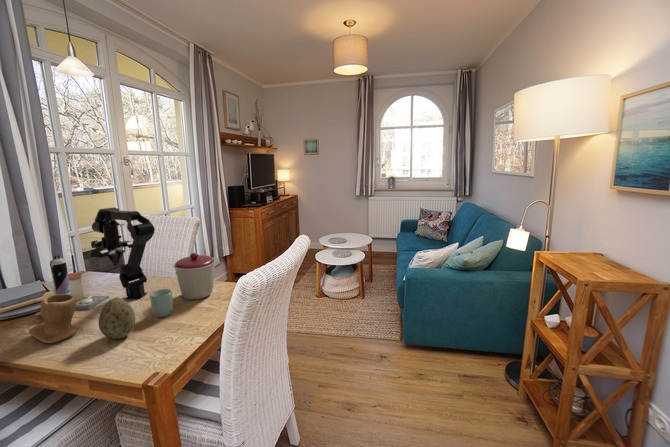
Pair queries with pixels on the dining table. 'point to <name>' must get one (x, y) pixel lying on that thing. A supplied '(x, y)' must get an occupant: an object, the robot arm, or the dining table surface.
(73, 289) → the white pink-capped bottle
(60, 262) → the spray can
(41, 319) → the stand
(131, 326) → the decorative egg
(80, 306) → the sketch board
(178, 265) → the canister
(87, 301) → the button
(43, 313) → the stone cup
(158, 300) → the cup
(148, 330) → the dining table surface
